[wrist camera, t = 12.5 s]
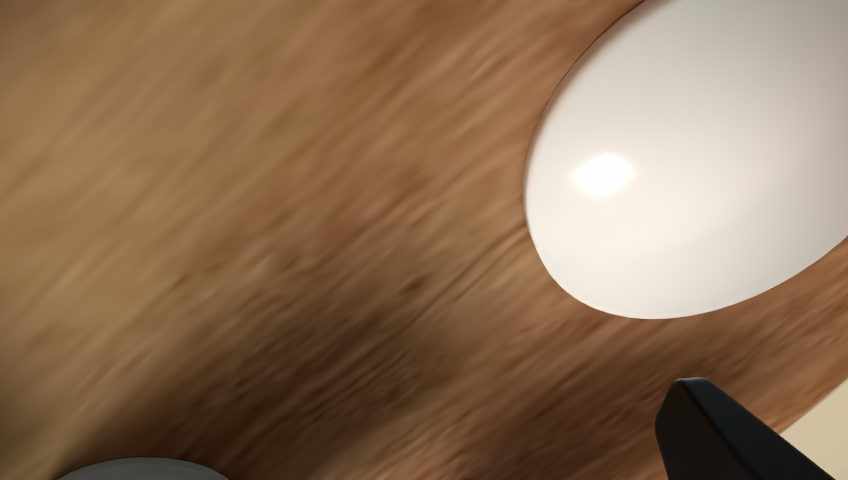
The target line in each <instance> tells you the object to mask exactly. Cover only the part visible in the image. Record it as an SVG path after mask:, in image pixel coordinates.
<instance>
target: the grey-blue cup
mask: <svg viewBox="0 0 848 480" xmlns="http://www.w3.org/2000/svg"><path fill="white" fill-rule="evenodd" d="M57 480H229V479H228V478H226V477H225V476H223V475H221V474H220V473H218V472H216V471H214V470H212V469H210V468H208V467H205V466H202V465H199V464H196V463H192V462H187V461H182V460H177V459H169V458H156V457H136V458H125V459H117V460H110V461H105V462H101V463H97V464H93V465H89V466H86V467H83V468H81V469H78V470H75V471H73V472H71V473H69V474H67V475H65V476H63V477H61V478H59V479H57Z"/></svg>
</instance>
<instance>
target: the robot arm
mask: <svg viewBox="0 0 848 480" xmlns="http://www.w3.org/2000/svg"><path fill="white" fill-rule="evenodd" d="M655 434H656V438H657V441H658V445H659V448H660V452H661V455H662V459H663V462H664V465H665V469H666V472H667V476H668V479H669V480H835V479H834V478H833V477H832V476H830V475H829V474H828V473H826V472H825V471H824V470H823V469H821V468H820V467H819V466H817V465H816V464H815V463H814V462H813V461H811V460H810V459H809V458H807V457H806V456H805V455H804V454H802V453H801V452H800V451H799V450H797V449H796V448H795V447H794V446H792V445H791V444H790V443H789V442H787V441H786V440H785V439H784V438H782V437H781V436H780V435H778V434H777V433H776V432H775V431H773V430H772V429H771V428H770V427H768V426H767V425H766V424H765V423H763V422H762V421H761V420H760V419H758V418H757V417H756V416H754V415H753V414H752V413H751V412H749V411H748V410H747V409H746V408H744V407H743V406H742V405H741V404H739V403H738V402H737V401H736V400H734V399H733V398H732V397H730V396H729V395H728V394H727V393H725V392H724V391H723V390H722V389H720V388H719V387H718V386H717V385H715V384H714V383H713V382H711V381H710V380H708V379H706V378H702V377H695V378H684V379H677V380H675V381H674V382H673V383H672V384H671V385H670V387H669V390H668V392H667V394H666V396H665V398H664V400H663V403H662V405H661V407H660V409H659V411H658V414H657V416H656V420H655Z"/></svg>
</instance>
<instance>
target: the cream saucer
mask: <svg viewBox="0 0 848 480" xmlns="http://www.w3.org/2000/svg"><path fill="white" fill-rule="evenodd" d="M522 206H523V212H524V217H525V223H526V226H527V228H528V231H529V234H530V236H531V239H532V241H533V243H534V246H535V248H536V250H537V252H538V254H539V256H540V258H541V260H542V262H543V264H544V265H545V267H546V269H547V270H548V272H549V273H550V275H551V276H552V277H553V278H554V280H555V281H556V282H557V283H558V284H559V285H560V286H561V287H562V288H563V289H564V290H565V291H567V292H568V293H569V294H571V295H572V296H573V297H574V298H576V299H577V300H579V301H581V302H583V303H585V304H587V305H589V306H591V307H593V308H595V309H598V310H601V311H604V312H607V313H610V314H615V315H619V316H624V317H630V318H642V319H666V318H676V317H684V316H691V315H696V314H701V313H705V312H710V311H714V310H717V309H720V308H723V307H727V306H730V305H733V304H736V303H738V302H741V301H743V300H746V299H749V298H751V297H754V296H756V295H758V294H760V293H762V292H764V291H766V290H768V289H771V288H773V287H775V286H777V285H779V284H780V283H782V282H784V281H785V280H787V279H789V278H791V277H792V276H794V275H796V274H798V273H799V272H801V271H802V270H804V269H805V268H807V267H808V266H810V265H811V264H812V263H814V262H815V261H817V260H818V259H820V258H821V257H822V256H824V255H825V254H826V253H827V252H829V251H830V250H831V249H832V248H834V247H835V246H836V245H837V244H839V243H840V242H841V241H842V240H843V239H844V238H845V237H846V236H848V0H645V1H644V2H642V3H641V4H640V5H638V6H637V7H635V8H634V9H633V10H631V11H630V12H628V13H627V14H626V15H624V16H623V17H621V18H620V19H619V20H618V21H617V22H616V23H615V24H613V25H612V26H611V27H610V28H609V29H608V30H607V31H605V32H604V33H603V34H602V35H601V36H600V37H599V38H598V39H596V40H595V42H594V43H593V44H592V45H591V46H590V47H589V48H588V49H587V50H586V51H585V52H584V53H583V55H582V56H581V57H580V58H579V59H578V60H577V61H576V62H575V63H574V65H573V66H572V67H571V69H570V70H569V71H568V73H567V74H566V75H565V77H564V78H563V79H562V81H561V82H560V83H559V85H558V86H557V88H556V89H555V91H554V93H553V94H552V96H551V98H550V100H549V101H548V103H547V105H546V106H545V108H544V110H543V111H542V114H541V116H540V118H539V121H538V123H537V125H536V127H535V130H534V132H533V134H532V137H531V140H530V144H529V147H528V151H527V154H526V158H525V162H524V170H523V177H522Z"/></svg>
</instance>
